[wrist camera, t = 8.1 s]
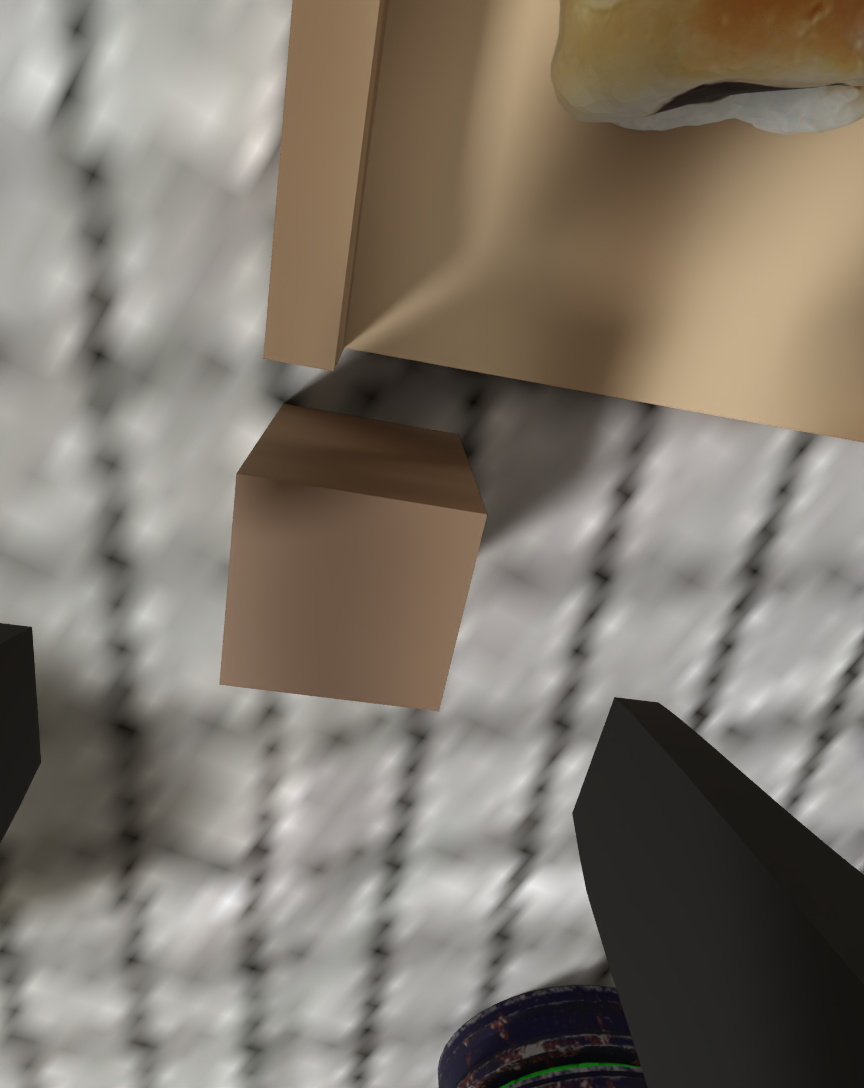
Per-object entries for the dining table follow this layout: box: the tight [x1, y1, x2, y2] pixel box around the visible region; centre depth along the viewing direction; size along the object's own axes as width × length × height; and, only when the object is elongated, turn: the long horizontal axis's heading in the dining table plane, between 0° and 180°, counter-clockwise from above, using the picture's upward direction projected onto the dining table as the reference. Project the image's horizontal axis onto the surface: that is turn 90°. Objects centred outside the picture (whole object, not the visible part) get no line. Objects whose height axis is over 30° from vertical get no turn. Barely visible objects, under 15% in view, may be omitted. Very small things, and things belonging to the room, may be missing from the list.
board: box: [263, 0, 864, 442], centre depth 11 cm, size 15×12×3 cm
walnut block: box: [220, 403, 487, 711], centre depth 14 cm, size 4×4×5 cm
